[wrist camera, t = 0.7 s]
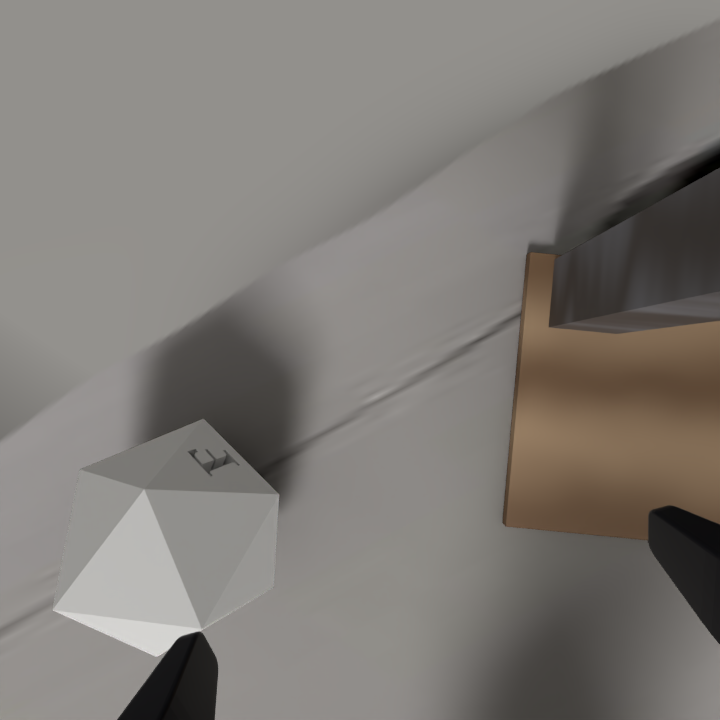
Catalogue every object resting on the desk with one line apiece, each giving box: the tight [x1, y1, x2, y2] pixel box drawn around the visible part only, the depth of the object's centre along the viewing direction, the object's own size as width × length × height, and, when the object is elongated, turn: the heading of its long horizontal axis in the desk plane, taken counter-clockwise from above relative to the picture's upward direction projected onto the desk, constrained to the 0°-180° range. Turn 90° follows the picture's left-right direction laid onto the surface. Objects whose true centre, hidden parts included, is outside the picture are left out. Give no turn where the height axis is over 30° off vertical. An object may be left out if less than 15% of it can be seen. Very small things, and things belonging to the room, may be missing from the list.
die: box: [52, 419, 279, 657], centre depth 18 cm, size 8×9×10 cm
